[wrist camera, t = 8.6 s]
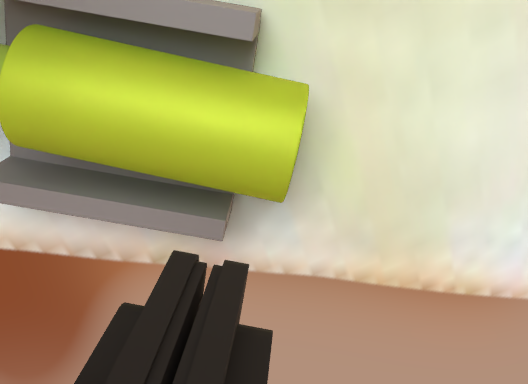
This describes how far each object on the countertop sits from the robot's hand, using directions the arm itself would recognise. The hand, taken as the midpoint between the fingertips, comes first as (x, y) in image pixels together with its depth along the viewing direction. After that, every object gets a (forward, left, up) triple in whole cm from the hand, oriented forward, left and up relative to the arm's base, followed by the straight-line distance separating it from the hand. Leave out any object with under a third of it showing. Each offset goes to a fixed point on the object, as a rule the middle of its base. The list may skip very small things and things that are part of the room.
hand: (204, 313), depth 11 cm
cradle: (+7, 0, -18) cm, 20 cm away
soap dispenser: (-2, 0, -15) cm, 15 cm away
